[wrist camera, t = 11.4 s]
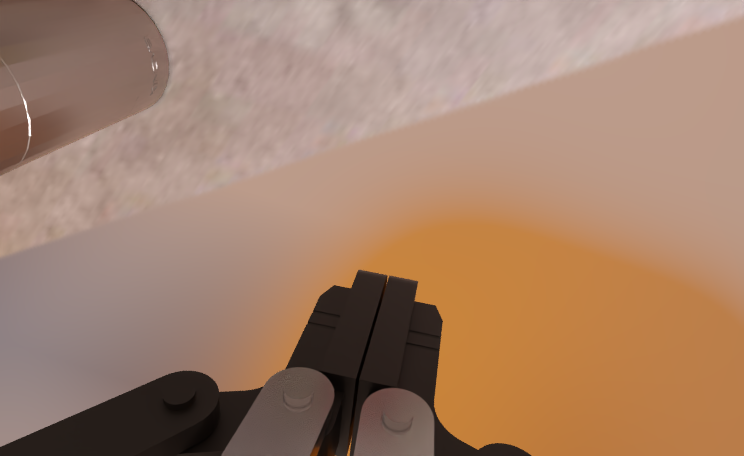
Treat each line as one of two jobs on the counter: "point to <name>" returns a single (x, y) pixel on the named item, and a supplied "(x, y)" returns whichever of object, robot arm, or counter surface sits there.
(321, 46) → the counter surface
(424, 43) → the counter surface
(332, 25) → the counter surface
